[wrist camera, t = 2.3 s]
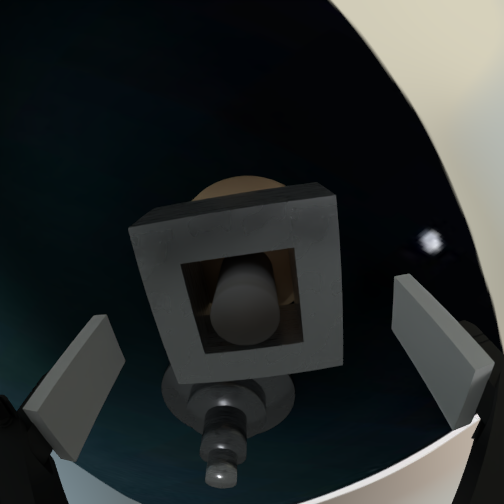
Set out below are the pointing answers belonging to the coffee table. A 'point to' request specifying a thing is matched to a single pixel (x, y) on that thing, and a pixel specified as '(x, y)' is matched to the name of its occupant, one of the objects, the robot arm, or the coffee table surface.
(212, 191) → the stand
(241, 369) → the collar
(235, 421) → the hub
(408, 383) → the coffee table surface
